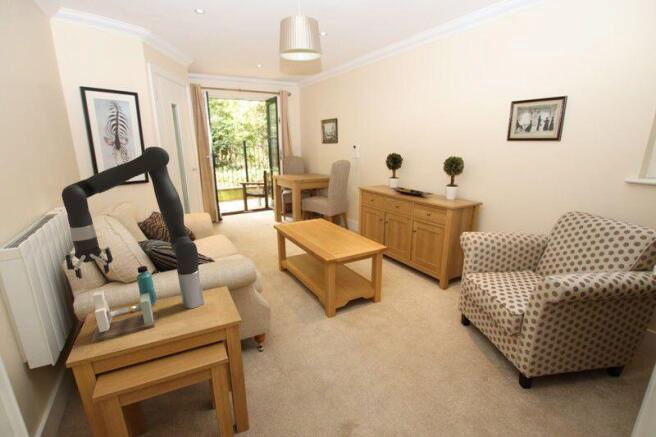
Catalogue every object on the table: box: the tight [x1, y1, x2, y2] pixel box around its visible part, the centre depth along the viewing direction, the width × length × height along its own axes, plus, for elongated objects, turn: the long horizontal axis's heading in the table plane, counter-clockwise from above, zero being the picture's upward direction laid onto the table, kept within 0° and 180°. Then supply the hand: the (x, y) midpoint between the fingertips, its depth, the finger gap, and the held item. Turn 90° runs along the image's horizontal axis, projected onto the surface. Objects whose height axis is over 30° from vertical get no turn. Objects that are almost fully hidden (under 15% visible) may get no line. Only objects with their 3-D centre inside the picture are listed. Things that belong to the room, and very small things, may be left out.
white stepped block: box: [92, 289, 113, 332], centre depth 128 cm, size 3×9×15 cm, turn 27°
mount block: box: [139, 293, 154, 324], centre depth 135 cm, size 3×8×10 cm, turn 27°
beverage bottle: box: [136, 265, 157, 305], centre depth 149 cm, size 6×7×20 cm
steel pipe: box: [94, 303, 142, 322], centre depth 131 cm, size 18×3×3 cm, turn 117°
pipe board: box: [91, 311, 156, 344], centre depth 133 cm, size 22×11×2 cm, turn 117°
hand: (93, 275), depth 124 cm, fingers open, 8 cm apart
